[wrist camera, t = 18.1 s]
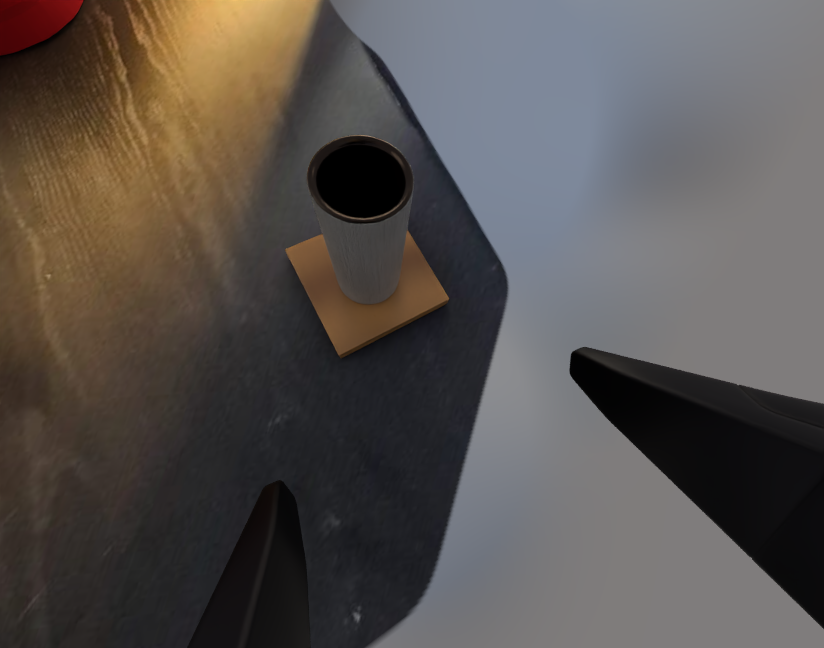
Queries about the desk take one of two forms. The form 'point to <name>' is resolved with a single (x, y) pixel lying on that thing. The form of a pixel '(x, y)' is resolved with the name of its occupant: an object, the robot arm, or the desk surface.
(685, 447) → the robot arm
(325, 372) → the desk surface
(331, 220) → the grey cylindrical cup
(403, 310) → the board
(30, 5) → the bowl
